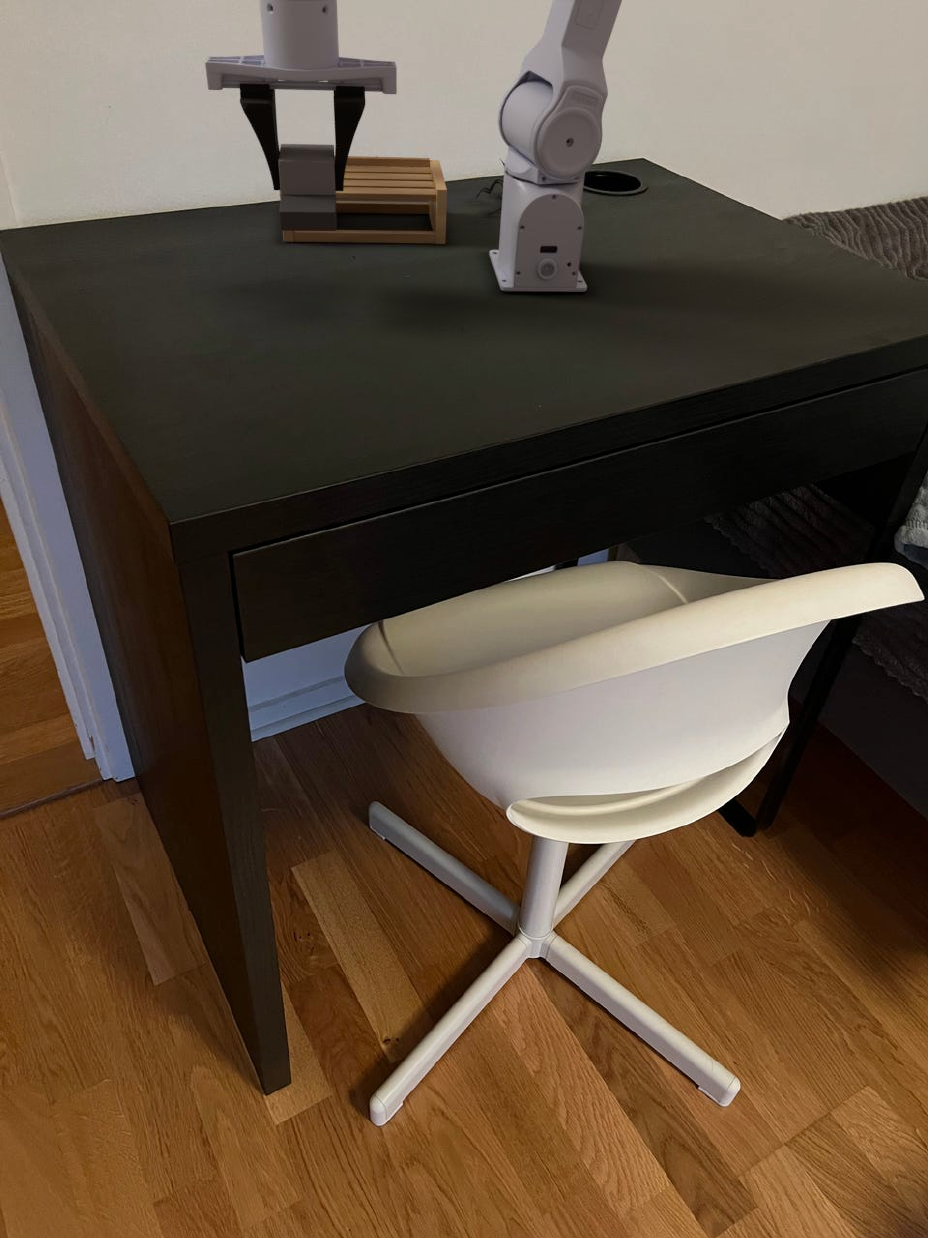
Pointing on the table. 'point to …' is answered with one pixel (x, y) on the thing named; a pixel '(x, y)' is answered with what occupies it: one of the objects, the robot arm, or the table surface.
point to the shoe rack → (387, 183)
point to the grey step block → (307, 187)
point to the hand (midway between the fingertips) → (309, 187)
